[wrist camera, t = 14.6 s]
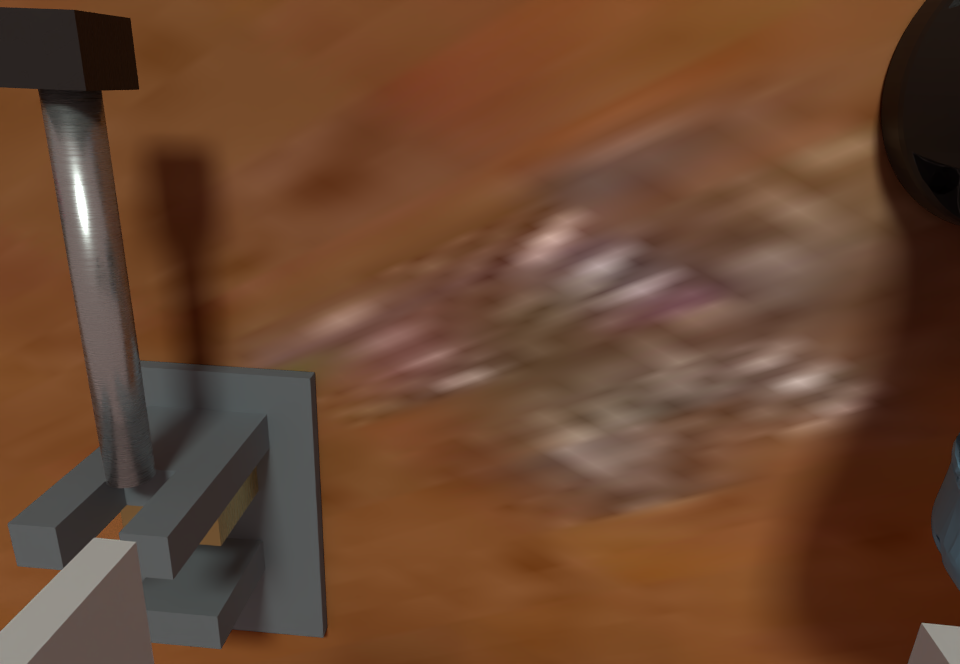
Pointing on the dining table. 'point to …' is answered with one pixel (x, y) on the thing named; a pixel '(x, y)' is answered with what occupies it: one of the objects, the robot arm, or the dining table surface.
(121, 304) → the shaft
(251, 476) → the spacer
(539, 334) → the dining table surface
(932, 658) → the robot arm
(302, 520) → the shaft stand
